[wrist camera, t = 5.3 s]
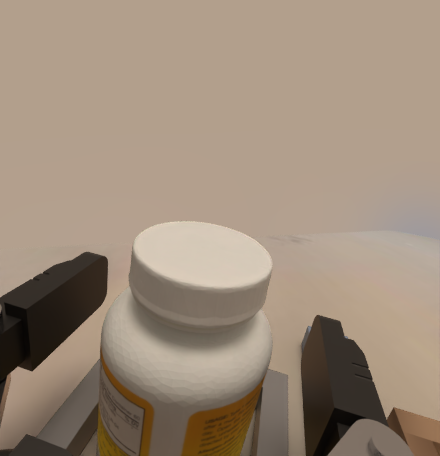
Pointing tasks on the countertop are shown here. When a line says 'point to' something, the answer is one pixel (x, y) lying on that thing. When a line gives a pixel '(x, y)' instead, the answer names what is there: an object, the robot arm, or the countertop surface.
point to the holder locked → (416, 432)
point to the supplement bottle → (185, 344)
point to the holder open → (89, 402)
